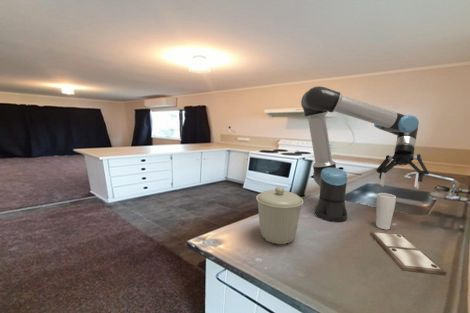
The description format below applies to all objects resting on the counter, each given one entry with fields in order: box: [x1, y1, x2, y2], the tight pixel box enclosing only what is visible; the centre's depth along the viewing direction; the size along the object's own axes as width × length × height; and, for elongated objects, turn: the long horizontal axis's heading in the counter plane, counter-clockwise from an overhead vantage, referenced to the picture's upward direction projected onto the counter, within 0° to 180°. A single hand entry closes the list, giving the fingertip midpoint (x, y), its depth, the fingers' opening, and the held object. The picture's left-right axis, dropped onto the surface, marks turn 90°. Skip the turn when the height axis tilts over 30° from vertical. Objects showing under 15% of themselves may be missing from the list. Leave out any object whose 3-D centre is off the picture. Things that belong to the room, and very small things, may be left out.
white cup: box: [375, 192, 397, 231], centre depth 96 cm, size 7×7×15 cm
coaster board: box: [369, 231, 447, 275], centre depth 79 cm, size 12×23×2 cm, turn 171°
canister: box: [255, 186, 304, 245], centre depth 86 cm, size 18×18×21 cm
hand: (398, 186), depth 101 cm, fingers open, 13 cm apart
